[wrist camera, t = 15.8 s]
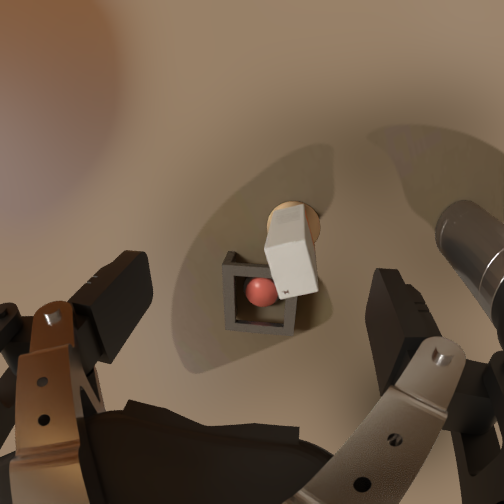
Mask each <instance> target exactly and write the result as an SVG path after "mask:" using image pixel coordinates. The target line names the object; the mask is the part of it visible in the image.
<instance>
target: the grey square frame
mask: <svg viewBox="0 0 504 504" xmlns="http://www.w3.org/2000/svg"><path fill="white" fill-rule="evenodd" d="M222 275H223V295H224V314H225V330H232V331H241V332H251V333H262V334H274V335H287V336H293V333H294V324H295V314H296V304H297V296H295V297H290V298H286V303H285V316H284V324H279V323H266V322H255V321H244V320H236V316H237V300H236V276H246V277H260V278H272V275H271V271H270V267H269V265H262V264H248V263H236V258H235V252H232V251H228V253H227V255H226V257H225V259H224V261H223V264H222Z"/></svg>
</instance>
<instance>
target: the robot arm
mask: <svg viewBox="0 0 504 504" xmlns="http://www.w3.org/2000/svg"><path fill="white" fill-rule="evenodd" d="M435 240H436V244H437V247H438V249H439V251H440V252H441V253H442V255H443V256H444V257H445V258H446V260H447V261H448V262H449V263H450V265H451V266H452V267H453V269H454V270H455V271H456V273H457V274H458V275H459V276H460V278H461V279H462V280H463V282H464V283H465V284H466V286H467V287H468V289H469V290H470V291H471V293H472V294H473V296H474V297H475V298H476V300H477V301H478V302H479V304H480V306H481V307H482V308H483V310H484V311H485V313H486V314H487V316H488V317H489V319H490V320H491V322H492V323H493V324H494V326H495V328H496V329H497V335H498V340H499V343H500V345H501V347H502V349H503V351H498V352H496V353H494V354H493V355H492V357H491V359H490V361H489V363H488V364H486V363H481V362H476V361H472V360H468V359H466V356H465V353H464V351H463V350H462V348H461V347H460V346H459V345H458V344H457V343H455V342H454V341H452V340H450V339H447V338H444V337H442V335H441V333H440V331H439V329H438V327H437V325H436V323H435V321H434V319H433V317H432V315H431V313H429V309H428V307H427V305H426V304H425V301H424V299H423V297H422V295H421V293H420V292H419V291H417V290H416V289H415V288H414V287H413V286H412V285H411V284H405V283H404V281H403V279H402V277H401V275H400V273H399V271H398V270H397V269H382V268H376V270H375V272H374V275H373V280H372V284H371V289H370V293H369V298H368V302H367V306H366V313H365V322H366V327H367V332H368V336H369V341H370V346H371V350H372V355H373V360H374V365H375V369H376V375H377V380H378V385H379V391H380V396H382V398H381V399H380V400H379V402H378V403H377V404H376V405H375V407H374V408H373V409H372V411H371V412H370V413H369V415H368V416H367V417H366V418H365V420H364V421H363V422H362V423H361V425H360V426H359V427H358V428H357V429H356V431H355V432H354V433H353V434H352V435H351V437H350V438H349V439H348V440H347V441H346V442H345V444H344V445H343V446H342V447H341V448H340V449H339V451H337V453H336V454H335V455H333V454H331V453H330V452H328V451H327V450H325V449H323V448H321V447H319V446H317V445H315V444H312V443H310V442H307V441H303V440H300V439H299V427H293V426H279V425H267V424H257V423H251V424H239V425H224V426H204V425H202V424H199V423H197V422H194V421H192V420H190V419H188V418H185V417H183V416H181V415H179V414H177V413H174V412H172V411H170V410H168V409H166V408H161V407H157V406H153V405H149V404H145V403H141V402H137V401H133V400H128V402H127V404H126V406H125V408H124V410H116V411H115V410H114V411H106V410H105V407H104V402H103V398H102V393H101V388H100V383H99V378H98V373H97V370H96V367H95V364H96V363H97V361H100V362H104V363H108V364H111V363H112V362H113V360H114V359H115V357H116V356H117V354H118V353H119V351H120V349H121V348H122V346H123V345H124V343H125V342H126V340H127V339H128V337H129V336H130V334H131V333H132V331H133V330H134V328H135V327H136V325H137V324H138V322H139V321H140V319H141V318H142V316H143V315H144V313H145V312H146V311H147V309H148V308H149V306H150V304H151V302H152V298H153V286H152V281H151V275H150V269H149V263H148V257H147V254H146V253H145V252H141V251H130V250H126V251H124V252H123V253H121V254H120V255H119V256H118V257H117V258H116V259H115V260H114V261H113V262H112V263H110V264H108V265H106V266H104V267H102V268H101V269H100V270H99V271H98V272H97V273H96V274H94V276H93V277H91V278H90V279H89V280H88V281H87V283H86V284H84V285H83V286H82V287H81V288H80V289H79V290H78V291H77V292H76V293H75V294H74V295H73V296H72V297H71V298H70V299H69V300H68V301H67V302H66V301H54V302H50V303H48V304H46V305H44V306H42V307H41V308H39V309H38V310H37V311H36V313H35V314H34V316H21V315H20V312H19V310H18V307H17V306H16V304H14V303H3V304H0V352H1V353H2V355H3V357H4V359H5V360H6V362H7V364H8V365H9V368H8V369H7V370H6V371H5V373H4V374H3V375H2V377H1V378H0V449H1V447H2V445H3V443H4V442H5V440H6V438H7V437H8V435H9V433H10V431H11V430H12V428H13V426H14V425H15V439H16V451H14V452H11V453H9V454H7V455H4V456H2V457H0V504H399V502H400V501H401V499H402V498H403V496H404V495H405V493H406V492H407V490H408V489H409V487H410V485H411V484H412V482H413V480H414V479H415V477H416V476H417V474H418V472H419V471H420V469H421V467H422V465H423V464H424V462H425V460H426V458H427V457H428V455H429V453H430V451H431V449H432V447H433V445H434V443H435V441H436V439H437V438H438V435H439V433H440V431H441V429H442V430H448V431H451V435H452V440H453V445H454V451H455V456H456V461H457V467H458V474H459V481H460V489H461V497H462V504H504V224H503V223H502V222H501V221H499V220H498V219H497V218H495V217H494V216H493V215H491V214H490V213H489V212H487V211H486V210H484V209H483V208H482V207H480V206H479V205H477V204H476V203H474V202H472V201H467V200H464V201H458V202H456V203H454V204H452V205H450V206H449V207H448V208H447V209H446V210H445V211H444V212H443V214H442V215H441V217H440V219H439V221H438V223H437V226H436V232H435ZM496 421H497V422H498V425H499V428H500V431H501V435H502V439H503V444H502V449H500V445H499V442H498V438H497V435H496V431H495V428H494V424H495V423H496Z"/></svg>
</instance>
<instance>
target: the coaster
mask: <svg viewBox="0 0 504 504" xmlns="http://www.w3.org/2000/svg"><path fill="white" fill-rule="evenodd" d="M300 204H304V206H305V210H306V214H307V218H308V222H309V226H310V230H311V233H312V237H313V241H314V243H315V242H316V240H317V239H318V236H319V234H320V221H319V217H318V215H317V213H316V212H315V211H314V210H313V209H312V208H311V207H310V206H309V205H307V204H305V203H303V202H299V201H288V202H284V203H282V204H280V205H278V206H277V207H276V208H275V209H274V210H273V211H275V210H279V209H284V208H288V207H292V206H296V205H300ZM273 211H272V212H271V214H270V216H269V218H268V222H267V232H268V231H269V227H270V223H271V219H272V215H273Z"/></svg>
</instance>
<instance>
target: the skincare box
mask: <svg viewBox="0 0 504 504" xmlns="http://www.w3.org/2000/svg"><path fill="white" fill-rule="evenodd" d="M264 251H265V254H266V257H267V260H268V264H269V267H270V271H271V275H272V278H273V280H274V283H275V286H276V289H277V292H278V295H279V298H280V299H286V298H290V297H295V296H300V295H305V294H310V293H314V292H318V291H319V290H318V277H317V266H316V255H315V244H314V241H313V237H312V233H311V230H310V226H309V222H308V218H307V214H306V210H305V206H304V204H300V205H296V206H292V207H288V208H284V209H279V210H275V211H273V215H272V219H271V223H270V227H269V231H268V236H267V240H266V244H265V248H264Z"/></svg>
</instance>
